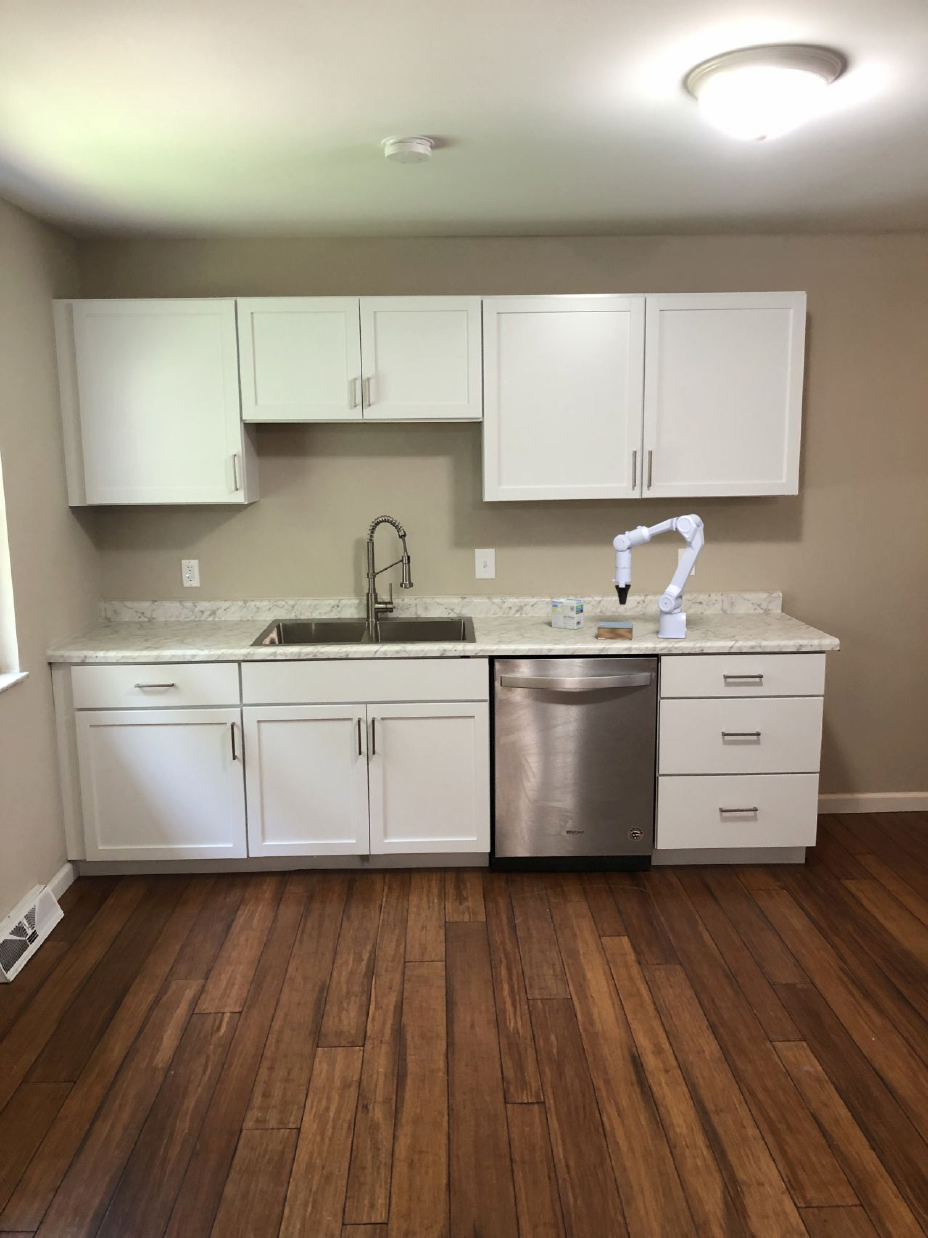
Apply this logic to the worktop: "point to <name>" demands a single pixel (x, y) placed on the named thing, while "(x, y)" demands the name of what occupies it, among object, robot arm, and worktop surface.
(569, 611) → the light bulb box
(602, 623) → the lid
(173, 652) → the worktop surface
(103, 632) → the worktop surface
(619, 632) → the crate
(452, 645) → the worktop surface
